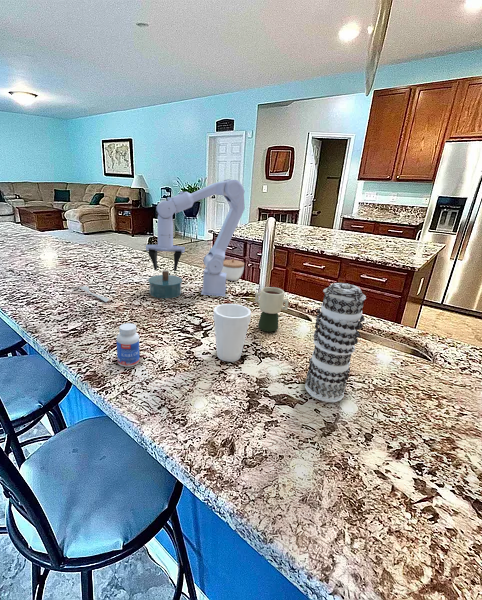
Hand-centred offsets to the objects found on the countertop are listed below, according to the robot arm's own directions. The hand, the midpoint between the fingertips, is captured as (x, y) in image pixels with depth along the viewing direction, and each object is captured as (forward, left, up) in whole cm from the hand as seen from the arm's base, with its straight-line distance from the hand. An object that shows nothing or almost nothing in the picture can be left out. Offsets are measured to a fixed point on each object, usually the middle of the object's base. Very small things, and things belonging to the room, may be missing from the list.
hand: (165, 269), depth 124 cm
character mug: (-38, +25, -10) cm, 47 cm away
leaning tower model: (-48, +55, -10) cm, 74 cm away
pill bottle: (-1, +50, -10) cm, 51 cm away
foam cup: (-26, +43, -10) cm, 51 cm away
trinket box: (-26, -27, -10) cm, 39 cm away
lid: (0, 0, -4) cm, 4 cm away
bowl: (0, 0, -10) cm, 10 cm away
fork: (+27, +7, -10) cm, 30 cm away
